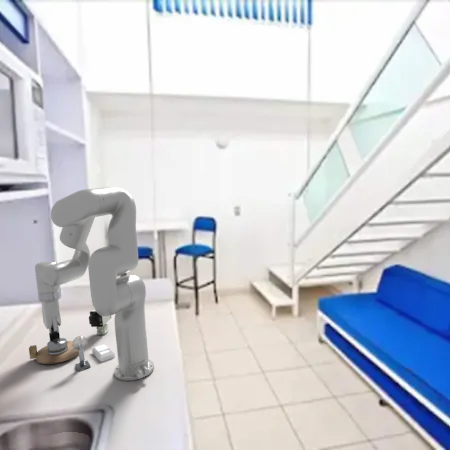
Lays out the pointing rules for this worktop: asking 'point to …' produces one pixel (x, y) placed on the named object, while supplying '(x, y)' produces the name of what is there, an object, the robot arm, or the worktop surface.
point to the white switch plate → (103, 353)
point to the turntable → (49, 359)
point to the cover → (57, 346)
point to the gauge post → (81, 352)
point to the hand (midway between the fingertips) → (55, 342)
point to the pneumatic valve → (99, 322)
